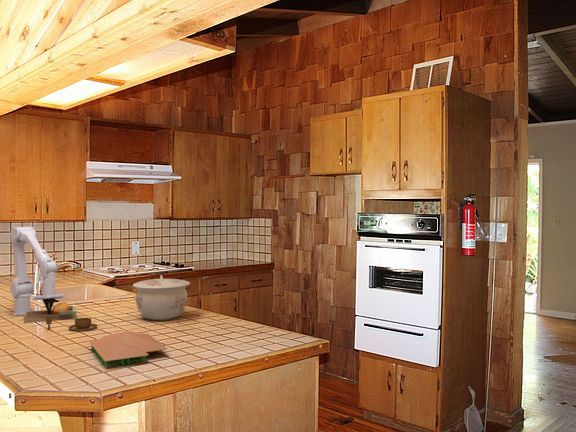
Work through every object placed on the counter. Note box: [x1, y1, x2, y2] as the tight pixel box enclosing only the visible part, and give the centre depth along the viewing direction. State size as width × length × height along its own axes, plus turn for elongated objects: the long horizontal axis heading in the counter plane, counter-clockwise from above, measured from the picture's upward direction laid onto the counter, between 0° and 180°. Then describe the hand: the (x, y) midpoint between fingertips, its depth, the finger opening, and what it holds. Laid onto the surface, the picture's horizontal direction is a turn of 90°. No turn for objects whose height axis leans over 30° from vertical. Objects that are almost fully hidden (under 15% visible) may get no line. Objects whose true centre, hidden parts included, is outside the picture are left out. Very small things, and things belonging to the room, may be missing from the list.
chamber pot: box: [132, 275, 191, 322], centre depth 267 cm, size 28×28×21 cm
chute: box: [23, 305, 77, 324], centre depth 267 cm, size 14×23×4 cm, turn 112°
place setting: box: [45, 317, 100, 333], centre depth 245 cm, size 18×20×6 cm
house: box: [88, 330, 168, 367], centre depth 203 cm, size 23×33×8 cm
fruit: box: [51, 302, 70, 315], centre depth 269 cm, size 8×8×8 cm
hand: (49, 314), depth 267 cm, fingers closed
